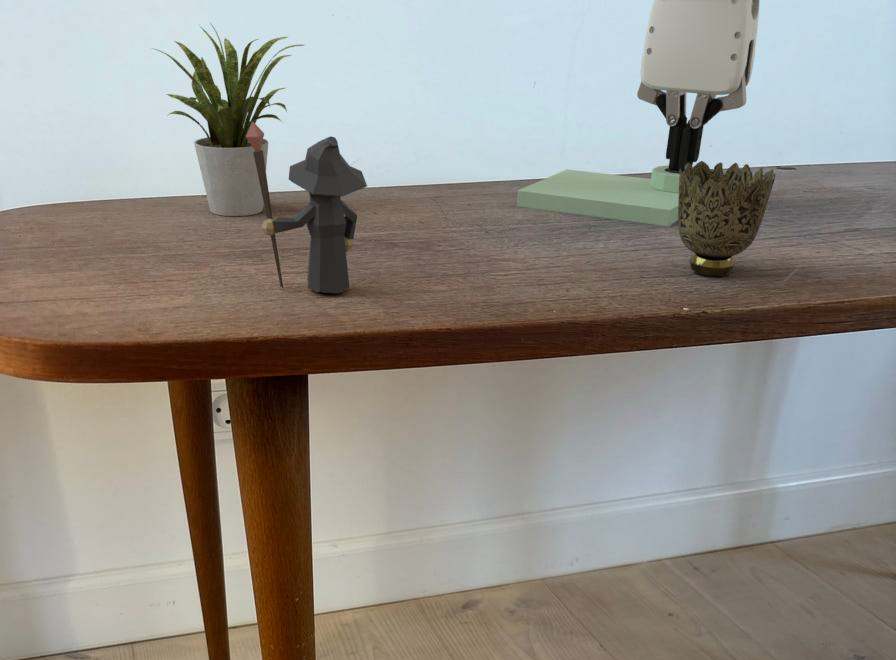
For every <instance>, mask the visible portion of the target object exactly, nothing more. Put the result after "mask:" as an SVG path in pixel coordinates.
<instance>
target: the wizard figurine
mask: <svg viewBox="0 0 896 660" xmlns="http://www.w3.org/2000/svg"><path fill="white" fill-rule="evenodd" d="M264 137H265V132H264V131H263V130H262V129H261V128H260V127H259V126H258V125H257V124H256V123H254V122H253V121H252V123H251V126H250V128H249V130H248V133H247V135H246V138H247V140H248V141H249V143H250V144H251V146H252V147H253V148H254V150H255V151H254V152H253V154H254V159H255V163H256V168H257V173H258V178H259V182H260V187H261V192H262V197H263V207H264V210H265V216H266V219H265V220H263V221H262V222H263V223H262V225H261V229H262V231H263V234H264V235H267V236H270V240H271V245H272V251H273V255H274V260H275V265H276V271H277V277H278V281H279V287H280V288H281V287H282V288H283V289H284V284H283V276H282V270H281V264H280V258H279V251H278V246H277V245H278V244H277V238H276V234H279V233H283V232H288V231H291V230H296V229H299V228H300V229H301V228H303V227H304V226H306V229H307V230H308V233H309V236H310V241H309V253H308V267H307V289H308V288H309V289H311V290H313V291H317V292H322V293H324V294H325V293H326V294H339V293H342V292H344V291H346V290H348V289H350V288H351V287H350V278H349V269H348V259H347V252H349V251H350V250H352V248H353V246H354V243H353V240H354V237H355V231H356V226H357V220H358V214H357V213H356V211H354V210H353V209H352V208H351V207H350V206H349V205H348V204H347V203H346V202H344V201H343V200H342V199H341V197H342V198H343V197H344V196H347V195H349V194H352V193H355V192H357V191H360V190H362V189H365V188H367V187H368V185H367V181H366V179H365V176H364V173H363V171H362V170H360V169H357V168H355V167H353V166H351V165H350V164H349V163H348V161H346V160H345V158H344V156H343V155H342V153H341V152H340V147H339V143H338V139H337V138H336V137H335V136H332V135H330V136H327V137H326V138H323V139H321V140H319V141H317V142H316V143H314V144H313V145H311V146H309V147H308V148H307V150H306V154H305V158H304V159H303V160H301V161H299V162H297V163H294V164H291V165H289V172H288V180H289V181H290V182H291V183H293V184H294V185H296V186H298V187H300V188H301V189H303V190H305V191H306V192H307V193H308V197H309V203H308V204H307V206H305V207H304V208H303V209H302V210H301V211H299V212H298V213H297V214H296V215H295V216H293V217H279V216H278V217H276V218H273V212H272V204H271V197H270V191H269V184H268V177H267V168H266V169H265V162H264V155H263V150H261V147H262V142H263V139H264ZM309 289H308V290H309ZM311 290H310V291H311ZM313 291H312V292H313ZM317 292H316V293H317ZM322 293H321V294H322Z"/></svg>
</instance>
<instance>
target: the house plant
mask: <svg viewBox="0 0 896 660" xmlns="http://www.w3.org/2000/svg"><path fill="white" fill-rule="evenodd" d="M209 24H210V25H211V26H212V28H213V30H214V32H215V34H216V36H217V38H218V42H219V45H220V46H219V45H218V44H217V42H216V41H215V40H214V39H213V37H212V36H211V35H210V34H209V32H208V31H206V30H205V29H204V28H203V27H202V26H201V24H198V26H199V27H200V28H201V30H202V31H203V32H204V33H205V34H206V36H207V37H208V38H209V40H210V41H211V42H212V44H213V47H214V49H215V51H216V55H217V57H218V58H217V59H218V61H219V65H220V68H221V73H222V77H223V83H224V88H225V92H226V98H227V100H226V99H224V98H222V93H221V90H220V88H219V87H218V85H216V83H215V81H214V78H213V74H212V73H211V70H210V69H209V67H208V65H207V63H206V61H205V60H204V58H203V56H201V58H199V56H197V54H196V53H194V52H193V51H192V50H191V49H190V48H188V46H186V45H185V44H183V43H181V42H179V41H177V40H174V43H176V44H177V45H178V46H179V48H180V49H181V51H183V52H184V54H185V55H186V57H187V59H188V60H189V62H190V64H191V65H192V67H193V70H194V72H193V73H190V72H189V71H188V70H187V69H186V68H185V67H184V66H183V65H182V64H181V63H180V61H178V60H177V59H176V58H174V57H173V56H171V55H170V54H168V53H167V52H164V51H162V50H159V49H156V48H153V47H151V49H153V50H156V51H158V52H160V53H162V54H164V55H166V56H167V57H169V58H170V59H171V60H172V61H173V62H174V63H175V65H177V66H178V67H179V69H181V70H182V71H183V73H184V74H186V75H187V76H188V78H189V79H190V80H191V88H192V91H193V94H194V96H195V97H194V96H190V97H187V96H184V95H179V94H171V93H167V94H165V95H167V96H169V97H170V98H172V99H176V100H178V101H180V102H181V103H183V104H184V105H186V106H187V107H190V108H192V109H193V110H195V111H196V112H198V113H199V114H200V115H201V116H202V117H203V118H204V119H205V121H206V123H207V128H208V132H207V130H206V129H205V127H203V125H201V123H200V122H199V121H198V120H197V119H195V118H194V117H193V116H192V115H190V114H188V113H187V112H185V111H181V110H174V111H172V112H170V113H168V114H167V116H169V115H179V116H184V117H186V118H189V120H190V119H191V121H193V122H195V124H197V125H198V126H199V127H200V128H201V129H202V131H203V132H204V133H205V135H206V137H203V138H199V139H195V141H194V142H193V144H194V149H195V152H196V157H197V162H198V165H199V169H200V173H201V178H202V182H203V186H204V190H205V195H206V199H207V202H208V206H209V211H210V213H212V214H214V215H218V216H225V217H244V216H252V215H256V214H257V215H258V214H259V213H261V212H263V210H264V201H263V197H262V192H261V187H260V182H259V178H258V173H257V168H256V163H255V159H254V154H253V152H254V151H255V150H254V148H253V147H252V146H251V144H250V143H249V141H248V140H247V138H246V135H247V133H248V130H249V128H250V126H251V123H252V121H253V122H254V123H255V124H256V123H257V121H258V120H261V119H265V118H267V119H274V120H275V119H276V120H278V121H280V122H281V123H282V124H283V123H284V122H283V121H282V120H281V119H280V118H279V117H278V116H277V115H276V114H271V113H266V114H262V112H263V110H264V109H265V108H267V107H269V108H271V106H274V105H276V106H280V107H281V108H282V109H284V110H285V112H286V114H288V111H287V107H286V104H284V103H282V102H274V103H270V100H271V99H272V97H274V96H275V94H276V93H278V91H281V90H285V89H286V87H281V88H276V89H273V90H271V91H269V92H268V93H267V94H266V95H265V96H264V97H260V94H261V91H262V89H263V87H264V84H265V83H266V81H267V79H268V77H269V75H270V73H271V72H272V70H273V69H275V67H276V65H278V63H279V62H280V61H281V60H282V59H284V58H288V57H291V56H292V54H286V55H285V54H284V55H280V56H277V55H278V54H279V53H281V52H283V51H284V50H287V49H289V48H294V47H303V46H304V44H292V45H288V46H285V47H284V48H282V49H280V50H278V52H276V53H275V54H274V55H273V56H272V58H271V59H270V60H269V61H268V63H267V64H266V65H265V67H264V68H263V70H262V72H261V74H260V75H259V77H258V79H257V81H256V83H255V84H254V87H253V89H252V91H251V92H250V94H249V91H250V87H251V84H252V80H253V78H254V76H255V73H256V71H257V69H258V66H259V65H260V63H261V61H262V60H263V58H264V57H265V55H266V53H268V51H270V49H271V48H272V47H273V46H274V44H275V43H277V42H278V41H281V40H284V39H287V38H288V36H281V37H276V38H272V39H270V40H268V41H266V42H265V43H264V44H262V45H261V47H260V48H258V49H257V50H256V51H254V52H253V53H252V55H251V56H250V59H249V60H248V55H249V51H250V47H251V46H252V43H254V42H256V41H258V40H259V38H256V39H254V40H251V41H250V42H249V43H248V44H246V46H245V48H244V50H243V53H242V58H241V63H240V69H239V58H238V51H237V50H236V48H235V46H234V45H233V44H232V43H231V41H230V40H229V39H227V38H226V37H225V38H224V40H223V44H222V41H221V39H220V36H219V33H218V32H217V30H216V28H215V26H213V24H212V23H211V22H209ZM223 45H224V48H223ZM276 56H277V57H276ZM275 57H276V58H275ZM273 58H274V59H273ZM247 61H248V62H247ZM192 74H193V75H192ZM255 89H256V91H255V92H254V90H255ZM253 93H254V94H253ZM248 94H249V96H248ZM252 95H253V96H252ZM258 100H260V102H259V103H258V105H257V102H258ZM256 105H257V106H256ZM255 107H256V108H255ZM253 112H254V113H253ZM261 114H262V115H261ZM261 150H263V155H264V162H265V169H266V170H267V164H268V155H269V154H268V153H269V152H268V151H269V140H268V139H266V138H263V142H262V147H261Z"/></svg>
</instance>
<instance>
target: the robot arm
mask: <svg viewBox="0 0 896 660" xmlns="http://www.w3.org/2000/svg"><path fill="white" fill-rule="evenodd" d="M759 17H760V0H653V1H652V5H651V10H650V13H649V18H648V22H647V27H646V31H645V32H646V33H645V37H644V43H643V49H642V55H641V62H640V76H639V77H640V83H639V87H638V90H637V92H636V93H637V94H636V96H637V98H638V99H639V100H641V101H643V102H646V103H648V104H651V105H654V106H656V107H657V108H658V109H659V111H660V112H661V114H662V115H663V117H664V118H665V122H666V124H667V126H669V128H668V135H667V136H668V137H667V143H666V151H665V159H666V160H669V161H668V165H669V170H675V169H678V170H680V168H681V170H682V171H683V172H684V171H685V165H686V164H687V163H689V164H691V166H694V163H696V162H698V160H699V156H700V151H701V144H702V139H703V132H704V126H705V125H707V124H708V123H709V122H710V121H711V120H712V119H713V118H714V117H715V116H717V115H718V114H719V113H720V112H725V111H730V110H736V109H737V110H738V109H740V108H743V107H744V106H745V105H746V104H747V86H748V85H749V83H750V81H751V77H752V74H753V68H754V61H755V56H756V55H755V53H756V47H757V46H756V45H757V36H758V26H759ZM687 93H688V94H696V97H695V100H694V103H693V107H692V111H691V114H690V118H689V119H688V117H687ZM717 96H718V97H717Z"/></svg>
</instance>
